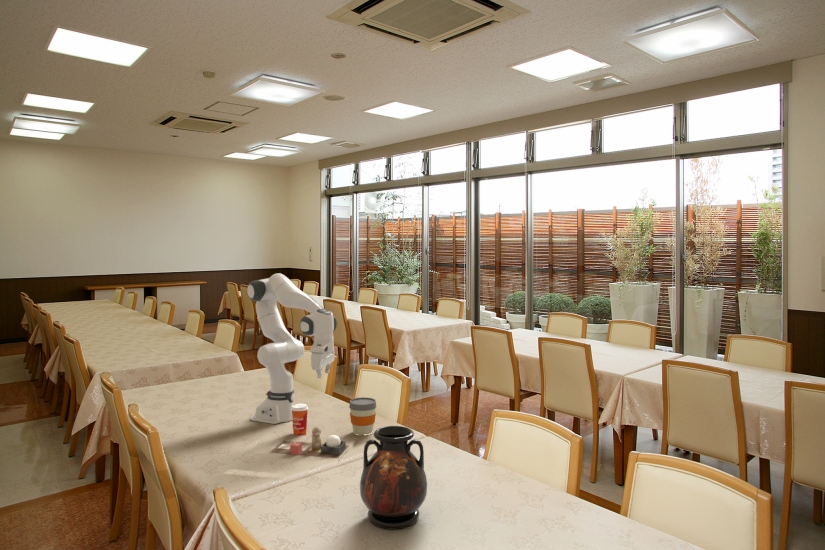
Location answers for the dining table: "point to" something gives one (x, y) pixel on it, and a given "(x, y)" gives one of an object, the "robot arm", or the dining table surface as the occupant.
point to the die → (295, 448)
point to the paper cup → (299, 419)
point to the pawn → (316, 439)
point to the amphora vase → (393, 479)
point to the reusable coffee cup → (362, 415)
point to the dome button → (333, 441)
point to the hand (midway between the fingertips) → (323, 375)
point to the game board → (307, 449)
